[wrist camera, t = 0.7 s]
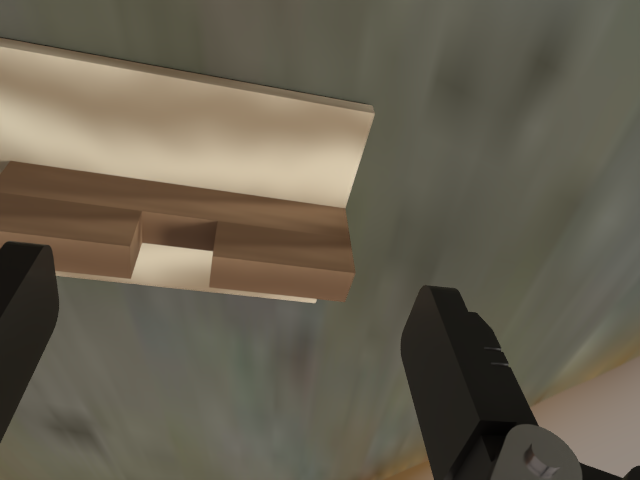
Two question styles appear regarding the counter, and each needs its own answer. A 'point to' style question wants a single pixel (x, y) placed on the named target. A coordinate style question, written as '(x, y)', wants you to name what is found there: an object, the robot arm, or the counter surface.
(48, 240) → the walnut slotted plate
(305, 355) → the counter surface
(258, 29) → the counter surface
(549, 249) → the counter surface
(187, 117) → the birch board
